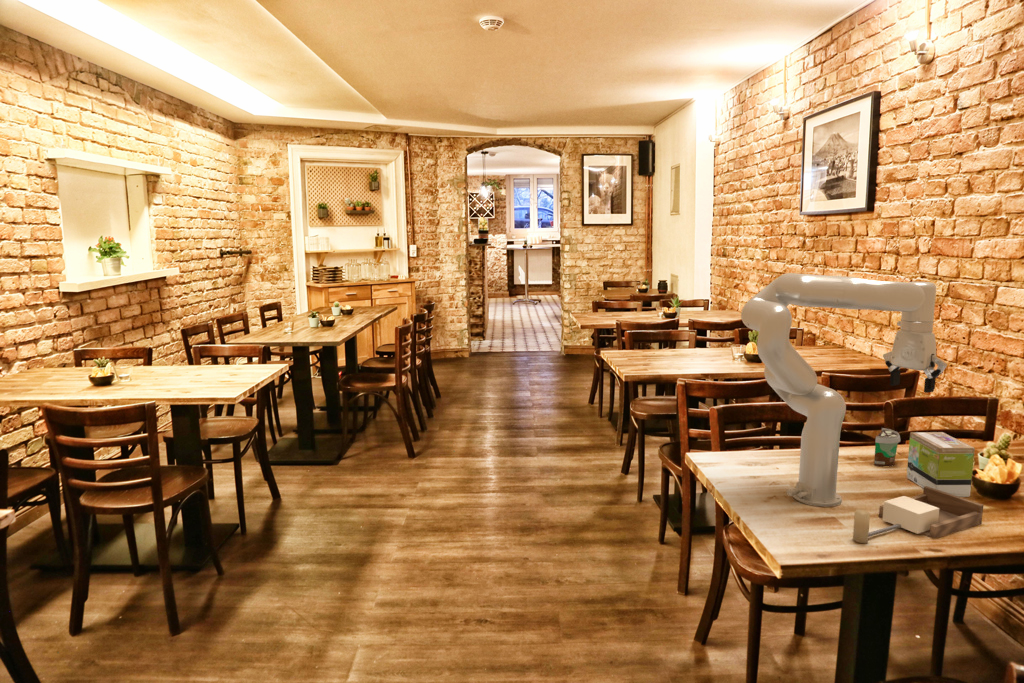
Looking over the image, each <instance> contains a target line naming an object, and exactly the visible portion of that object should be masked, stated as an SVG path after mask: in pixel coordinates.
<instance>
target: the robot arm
mask: <svg viewBox="0 0 1024 683" xmlns="http://www.w3.org/2000/svg"><path fill="white" fill-rule="evenodd" d="M936 296H937V286H936V283H933V282H930V281H909V282H904V281H894V280H893V281H891V280H890V281H889V280H885V281H884V280H883V281H882V280H873V279H866V278H860V277H854V276H842V275H841V276H839V275H825V274H824V275H823V274H812V273H811V274H810V273H795V272H787V273H783V274H781V275H780V276H778V277H777V278H775V279H774V280H773V281H771V282H770V283H768V285H766V286H765V287H763V289H761V290H760V291H759V292H758V293H756V294H755V295H754V296H753V297H751V298H750V299H748V300H747V302H746V303H745V304H744V306H743V307H742V310H741V314H740V317H741V321H742V323H743V324H744V326H746V328H748V329H750V330H752V331H755V332H756V331H757V332H758V335H757V343H756V349H757V350H756V352H757V355H758V357H759V359H760V360H761V362H762V363H763V364H764V370H763V373H764V378H765V381H766V382H767V384H768V385H769V386H770V387H771V388H772V390H774V392H775V393H776V394H777V395H778V396H779V397H780V398H781V399H782V400H783V401H784V403H786V405H787V406H789V407H790V409H792V410H793V411H794V412H796V413H798V414H800V415H803V416H805V417H806V418H807V419H806V421H805V424H804V426H803V428H802V431H801V435H800V436H801V438H800V453H799V454H800V455H799V467H798V468H799V471H798V481H797V482H796V483H795V485H796V486H795V487H793V488H789V489H787V490H786V494H787V496H788V497H792V498H793V499H794V500H796V501H798V502H800V503H803V504H805V505H809V506H815V507H823V508H824V507H825V508H826V507H829V508H830V507H836V506H839V505H841V503H842V502H843V501H842V500H843V499H842V496H841V495H840V494H839V493H838V492H837V484H838V481H837V480H838V469H839V456H840V455H839V453H840V442H841V441H840V440H841V439H840V438H841V430H842V426H843V422H844V420H845V416H846V411H847V404H846V401H845V399H844V397H843V396H842V394H840V393H839V392H838V391H836V390H835V389H833V388H830V387H827V386H825V385H823V384H818V376H817V373H816V371H815V369H814V368H813V367H812V366H811V365H810V364H809V363H808V361H807V360H805V359H804V357H803V356H801V354H800V353H799V352H798V351H797V350H796V349H795V347H794V346H793V345H792V343H791V342H790V332H791V327H792V323H793V317H792V313H791V311H790V309H789V308H788V306H789V305H794V306H798V307H800V306H801V307H808V308H810V307H811V308H830V309H846V310H866V311H867V310H870V311H871V310H874V311H886V312H901V316H900V317H901V318H900V320H898V321H897V324H896V325H897V326H898V327H899V329H900V330H897V331H896V334H895V337H894V339H893V344H892V350H891V351H889V352H886V353H883V355H882V358H883V360H884V363H885V365H886V366H887V369H888V371H889V372H890V377H889V386H892V387H894V386H899V385H900V384H901V370H900V369H901V368H902V369H908V370H914V371H923V373H924V374H925V375H926V377H925V378H924V385H923V386H924V388H923V392H924V393H926V394H928V393H933V392H934V391H935V388H936V378H938V377H939V376H940V375H942V374H943V373H944V371H945V369H946V368H947V366H948V363H946V362H945V361H943V360H942V359H941V358H939V357H938V356H937V341H936V335H935V333H933V330H934V328H933V327H934V321H935V320H934V318H935V309H936V308H935V307H936ZM936 365H937V367H936ZM935 367H936V369H935Z"/></svg>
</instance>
